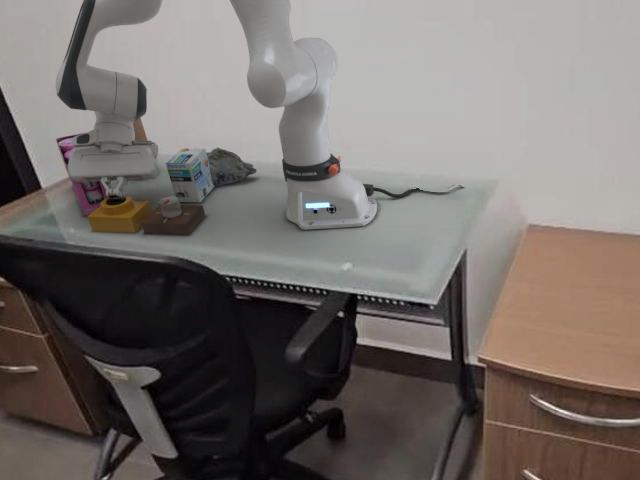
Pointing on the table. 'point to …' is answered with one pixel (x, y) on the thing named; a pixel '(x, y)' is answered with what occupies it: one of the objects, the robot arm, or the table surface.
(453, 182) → the table surface
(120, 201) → the button
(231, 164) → the mineral rock
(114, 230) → the control box
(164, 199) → the knob
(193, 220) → the dial panel
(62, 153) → the gum box
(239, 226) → the table surface
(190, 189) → the light bulb box
